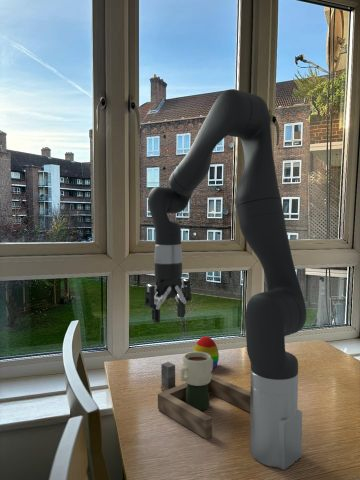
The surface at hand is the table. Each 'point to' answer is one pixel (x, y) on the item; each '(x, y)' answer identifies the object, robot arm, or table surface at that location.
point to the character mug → (197, 378)
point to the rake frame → (187, 415)
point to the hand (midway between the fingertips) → (169, 319)
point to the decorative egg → (208, 348)
